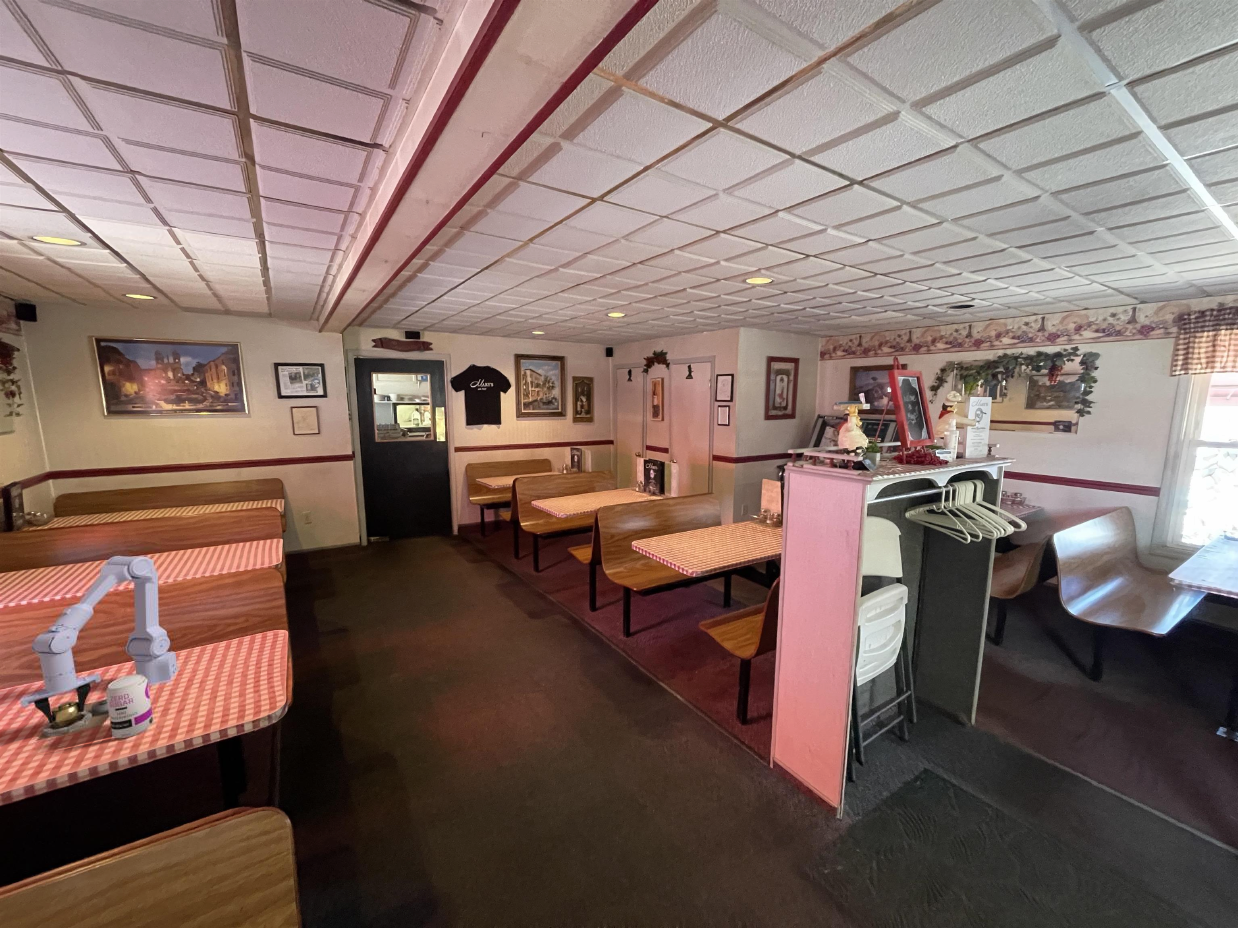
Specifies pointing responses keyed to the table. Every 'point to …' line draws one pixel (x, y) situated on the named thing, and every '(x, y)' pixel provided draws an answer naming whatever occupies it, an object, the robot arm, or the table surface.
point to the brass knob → (65, 713)
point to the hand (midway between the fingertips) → (66, 716)
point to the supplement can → (129, 706)
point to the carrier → (80, 721)
